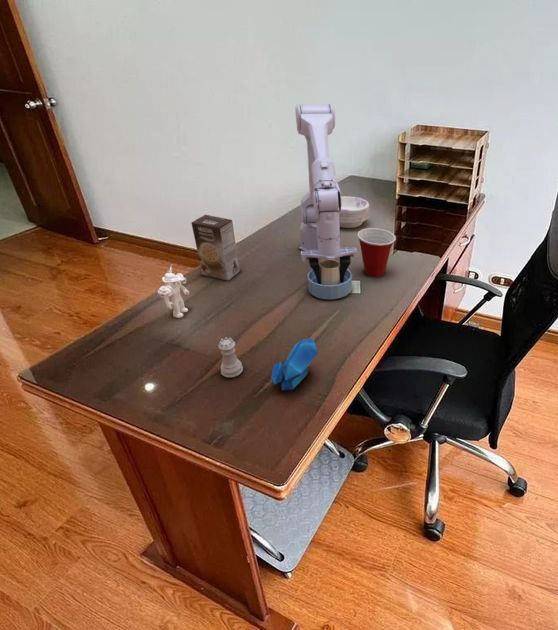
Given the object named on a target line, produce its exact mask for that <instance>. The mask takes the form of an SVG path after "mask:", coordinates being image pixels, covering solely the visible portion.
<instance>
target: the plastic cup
mask: <svg viewBox="0 0 558 630" xmlns="http://www.w3.org/2000/svg"><path fill="white" fill-rule="evenodd" d="M357 238H358V241H359V246H360V251H361V258H362V264H363V269H364V273H365V275H367V276H369V277H372V278H374V277H375V278H377V277H378V278H379V277H381V276H384V274H385V272H386V268H387V264H388V263H389V262H388V261H389V259H390V258H389V257H390V254H391V250H392V246H393V244H394V242H396V235H395V234H394V233H393V232H392V231H389V230H386V229H382V228H377V227H367V228H362V229H360V230H359V231H358V232H357Z"/></svg>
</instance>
